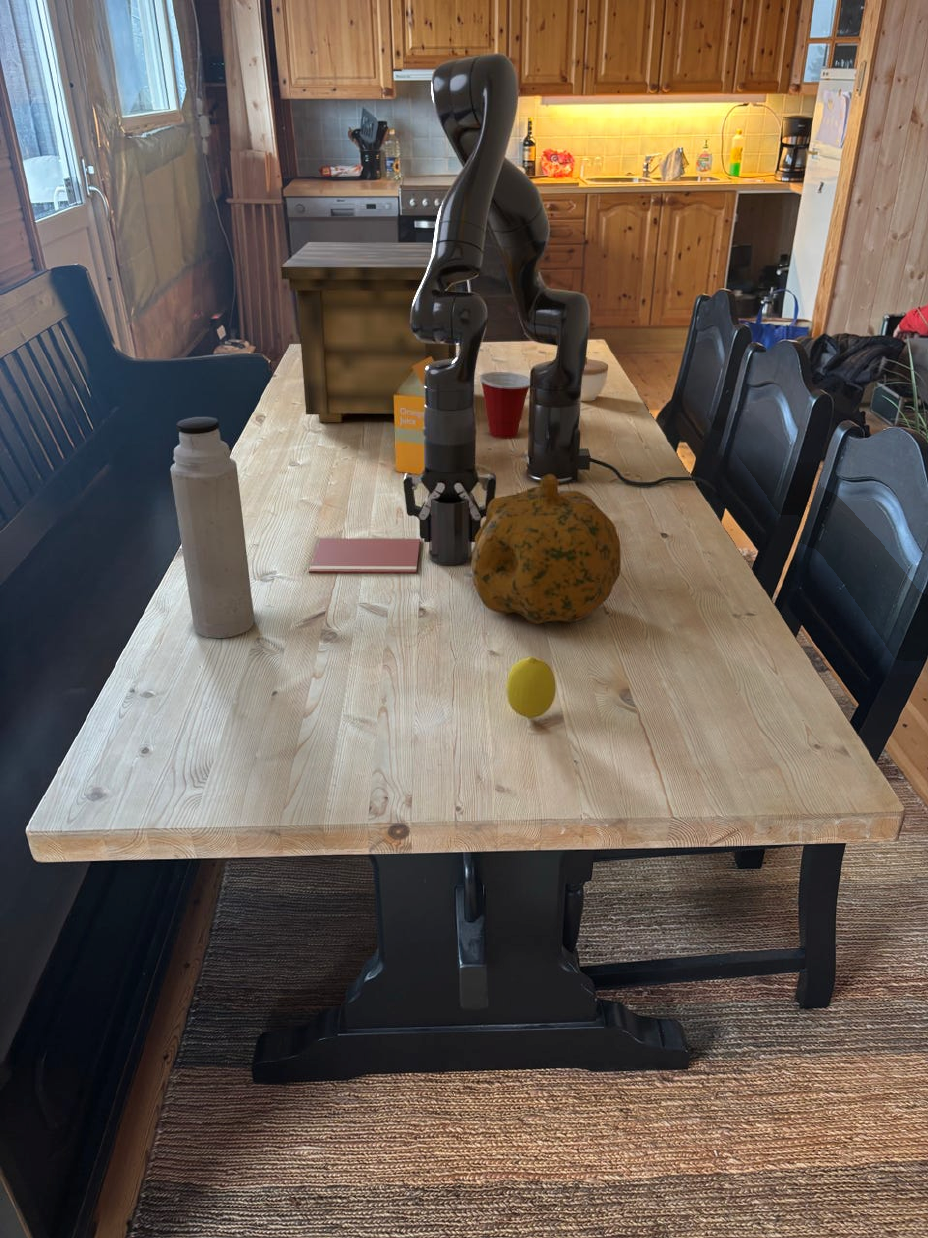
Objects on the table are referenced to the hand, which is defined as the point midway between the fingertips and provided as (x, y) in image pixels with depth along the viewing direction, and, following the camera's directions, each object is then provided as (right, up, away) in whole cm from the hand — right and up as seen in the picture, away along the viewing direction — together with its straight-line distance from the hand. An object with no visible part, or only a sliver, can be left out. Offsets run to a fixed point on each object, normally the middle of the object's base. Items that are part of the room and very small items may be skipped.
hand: (450, 540), depth 150 cm
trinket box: (+30, +39, +80) cm, 94 cm away
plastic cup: (+11, +26, +55) cm, 62 cm away
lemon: (+10, -24, -37) cm, 45 cm away
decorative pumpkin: (+13, -10, -13) cm, 21 cm away
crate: (-16, +36, +74) cm, 84 cm away
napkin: (-13, -2, +1) cm, 13 cm away
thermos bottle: (-30, -13, -18) cm, 37 cm away
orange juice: (-6, +17, +38) cm, 42 cm away
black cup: (0, -2, +1) cm, 3 cm away
